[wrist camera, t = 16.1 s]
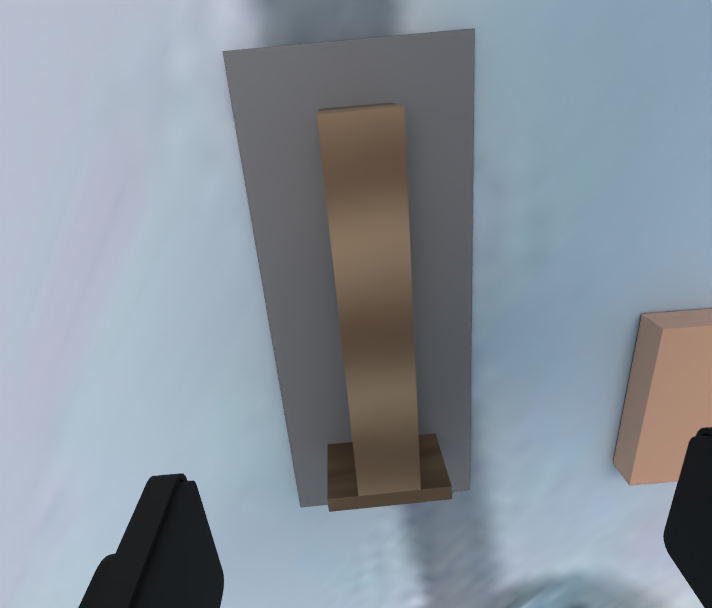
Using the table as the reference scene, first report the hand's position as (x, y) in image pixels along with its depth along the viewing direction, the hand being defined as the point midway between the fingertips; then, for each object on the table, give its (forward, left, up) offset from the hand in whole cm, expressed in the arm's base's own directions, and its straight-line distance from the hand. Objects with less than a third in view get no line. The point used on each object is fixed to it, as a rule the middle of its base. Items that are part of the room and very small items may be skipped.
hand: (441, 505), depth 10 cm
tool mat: (+3, 0, -16) cm, 16 cm away
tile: (+5, +18, -15) cm, 24 cm away
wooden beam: (+2, 0, -15) cm, 15 cm away
